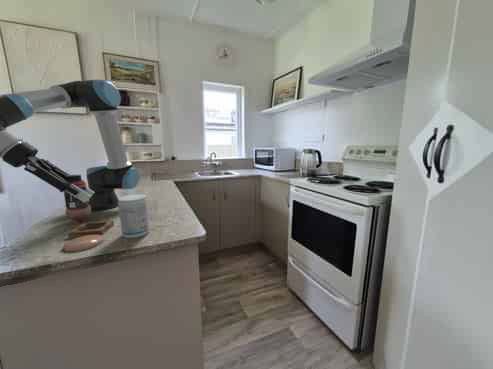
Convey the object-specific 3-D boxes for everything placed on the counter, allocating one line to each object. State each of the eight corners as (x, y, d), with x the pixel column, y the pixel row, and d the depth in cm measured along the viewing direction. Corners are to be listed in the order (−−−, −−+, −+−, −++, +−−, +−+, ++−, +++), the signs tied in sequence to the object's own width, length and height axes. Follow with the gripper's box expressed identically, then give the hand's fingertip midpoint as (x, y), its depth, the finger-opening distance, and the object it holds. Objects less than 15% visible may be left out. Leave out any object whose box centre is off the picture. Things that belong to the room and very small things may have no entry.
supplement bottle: (76, 211, 67) (70, 176, 65) (61, 210, 68) (55, 176, 66) (93, 206, 73) (88, 174, 70) (79, 205, 74) (74, 173, 72)
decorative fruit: (96, 216, 101) (93, 196, 99) (88, 222, 93) (85, 201, 91) (73, 218, 99) (70, 198, 97) (63, 224, 91) (59, 202, 89)
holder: (85, 227, 88) (84, 222, 88) (113, 225, 90) (113, 220, 90) (68, 238, 77) (68, 233, 77) (101, 235, 79) (100, 230, 79)
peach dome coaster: (76, 238, 77) (76, 236, 77) (109, 235, 79) (108, 233, 79) (55, 253, 66) (55, 250, 66) (94, 249, 68) (93, 246, 68)
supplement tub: (125, 230, 84) (121, 195, 81) (151, 227, 87) (147, 193, 84) (119, 240, 75) (114, 201, 72) (147, 237, 78) (143, 198, 75)
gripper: (17, 158, 68) (86, 199, 79) (-19, 161, 52) (75, 213, 62) (36, 141, 70) (101, 184, 80) (7, 139, 53) (94, 194, 64)
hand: (90, 197), depth 71 cm, fingers closed on supplement bottle, 6 cm apart
